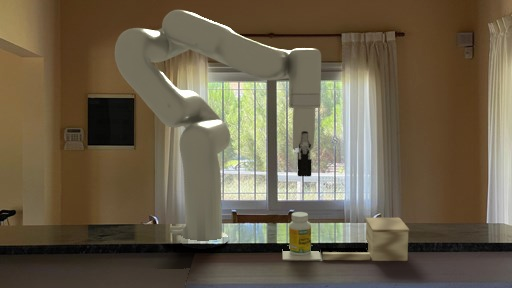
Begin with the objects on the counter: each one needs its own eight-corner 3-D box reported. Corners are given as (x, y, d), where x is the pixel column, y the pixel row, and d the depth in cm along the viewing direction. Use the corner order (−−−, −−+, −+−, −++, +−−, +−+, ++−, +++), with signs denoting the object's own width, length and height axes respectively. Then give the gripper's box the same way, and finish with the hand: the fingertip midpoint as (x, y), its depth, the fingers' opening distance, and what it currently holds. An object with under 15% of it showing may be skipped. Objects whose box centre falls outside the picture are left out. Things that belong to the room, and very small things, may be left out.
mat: (282, 260, 114) (282, 259, 114) (282, 246, 123) (282, 245, 123) (321, 260, 114) (321, 259, 114) (318, 246, 122) (318, 245, 122)
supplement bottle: (301, 246, 122) (301, 209, 121) (315, 252, 117) (315, 214, 116) (284, 251, 119) (284, 213, 118) (298, 257, 115) (298, 218, 113)
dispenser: (319, 261, 113) (319, 229, 112) (315, 246, 123) (315, 217, 122) (408, 261, 112) (409, 229, 111) (398, 246, 122) (399, 217, 121)
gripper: (289, 99, 124) (289, 165, 126) (288, 103, 107) (287, 179, 109) (318, 99, 123) (317, 165, 126) (322, 103, 106) (321, 179, 109)
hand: (304, 171), depth 118 cm, fingers open, 9 cm apart
